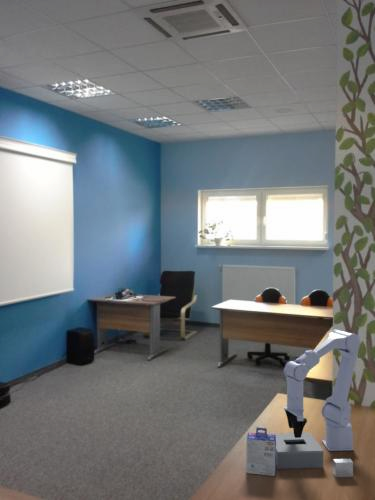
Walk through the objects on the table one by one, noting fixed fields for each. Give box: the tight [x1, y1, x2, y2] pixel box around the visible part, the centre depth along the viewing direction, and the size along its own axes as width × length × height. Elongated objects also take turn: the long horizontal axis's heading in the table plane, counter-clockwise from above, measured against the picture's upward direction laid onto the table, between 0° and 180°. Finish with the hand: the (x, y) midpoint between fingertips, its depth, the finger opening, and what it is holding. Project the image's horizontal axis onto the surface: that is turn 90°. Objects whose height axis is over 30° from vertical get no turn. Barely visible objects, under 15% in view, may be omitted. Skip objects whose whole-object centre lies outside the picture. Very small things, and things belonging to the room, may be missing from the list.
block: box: [332, 458, 354, 478], centre depth 158 cm, size 6×2×5 cm, turn 93°
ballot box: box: [272, 432, 324, 470], centre depth 169 cm, size 16×14×6 cm
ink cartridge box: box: [246, 427, 277, 477], centre depth 160 cm, size 10×6×14 cm, turn 78°
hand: (294, 432), depth 168 cm, fingers open, 7 cm apart
